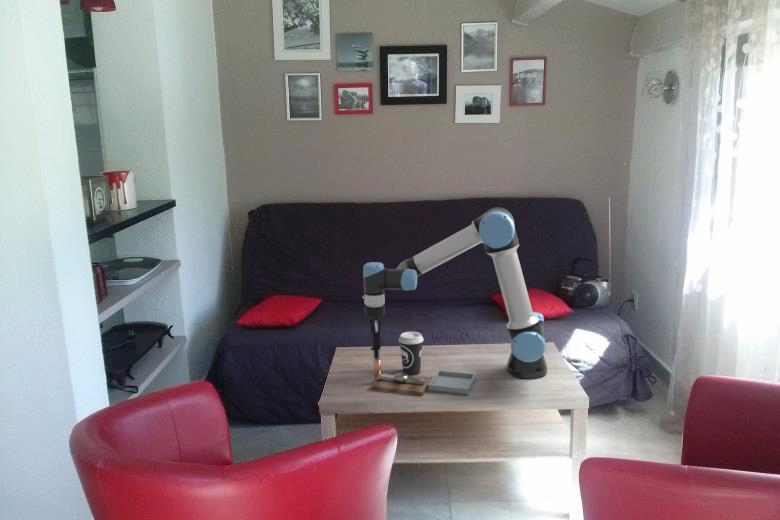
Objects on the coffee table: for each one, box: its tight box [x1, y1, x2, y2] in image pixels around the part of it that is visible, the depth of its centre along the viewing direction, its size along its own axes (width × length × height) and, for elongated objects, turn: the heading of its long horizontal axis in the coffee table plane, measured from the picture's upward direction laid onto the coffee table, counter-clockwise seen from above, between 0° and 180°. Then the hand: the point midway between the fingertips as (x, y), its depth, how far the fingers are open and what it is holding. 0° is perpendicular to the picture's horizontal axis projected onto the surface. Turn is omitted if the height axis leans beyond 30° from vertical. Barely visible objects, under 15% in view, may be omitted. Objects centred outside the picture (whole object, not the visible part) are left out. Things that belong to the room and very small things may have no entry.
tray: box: [427, 369, 477, 397], centre depth 229 cm, size 14×14×2 cm
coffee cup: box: [397, 331, 425, 376], centre depth 241 cm, size 10×10×15 cm
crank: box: [373, 358, 426, 384], centre depth 230 cm, size 19×5×7 cm, turn 71°
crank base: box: [371, 372, 433, 397], centre depth 230 cm, size 19×13×2 cm
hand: (376, 365), depth 237 cm, fingers closed
